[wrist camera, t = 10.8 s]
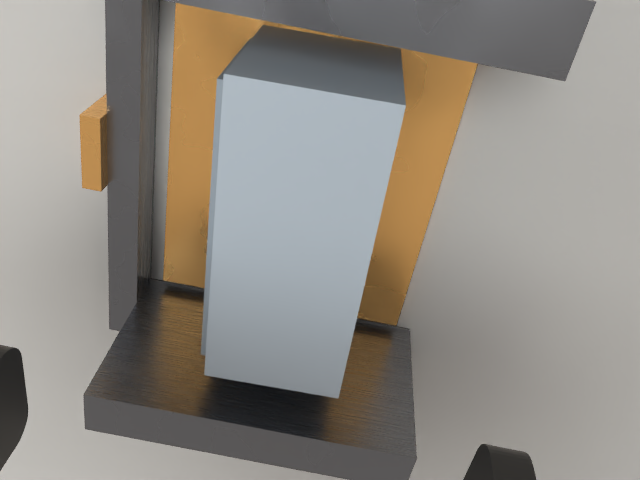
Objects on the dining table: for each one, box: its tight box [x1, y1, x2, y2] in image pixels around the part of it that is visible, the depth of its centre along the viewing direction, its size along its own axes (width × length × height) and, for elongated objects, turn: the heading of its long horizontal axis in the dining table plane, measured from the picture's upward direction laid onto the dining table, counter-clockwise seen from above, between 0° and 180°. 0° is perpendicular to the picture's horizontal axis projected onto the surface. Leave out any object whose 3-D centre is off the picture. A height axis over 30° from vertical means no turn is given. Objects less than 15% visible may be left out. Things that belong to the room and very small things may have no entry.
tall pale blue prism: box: [201, 25, 406, 398], centre depth 18 cm, size 9×4×5 cm, turn 172°
